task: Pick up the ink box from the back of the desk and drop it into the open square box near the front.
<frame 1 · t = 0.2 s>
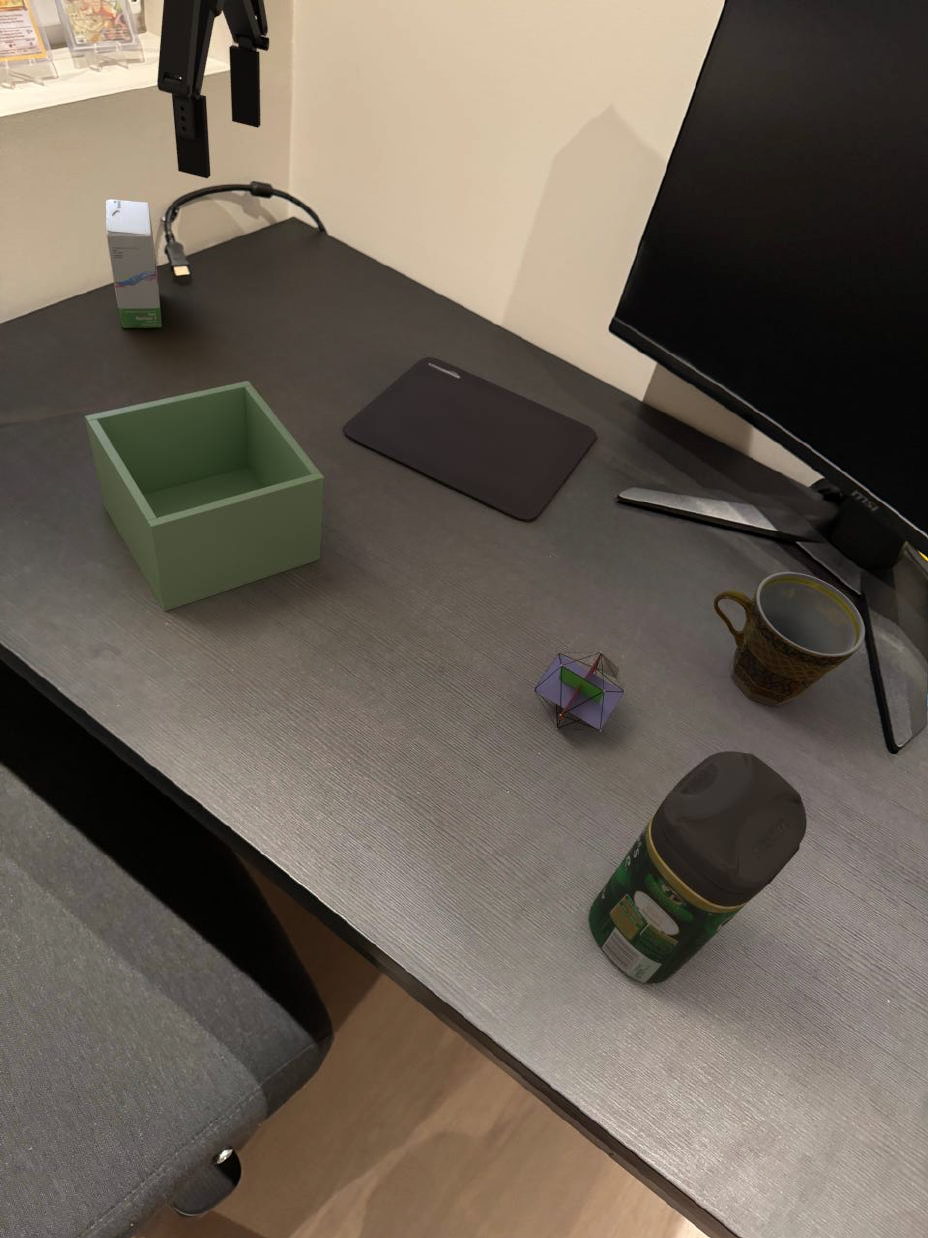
hand: (221, 147, 81), 25 cm above the table, tool pointing down, fingers open, 13 cm apart
ink box: (140, 311, 106), on the table
geometric puzzle: (568, 712, 76), on the table
mouse pad: (474, 433, 100), on the table
coffee jar: (644, 923, 64), on the table
open square box: (211, 531, 83), on the table
ceramic cup: (746, 675, 83), on the table
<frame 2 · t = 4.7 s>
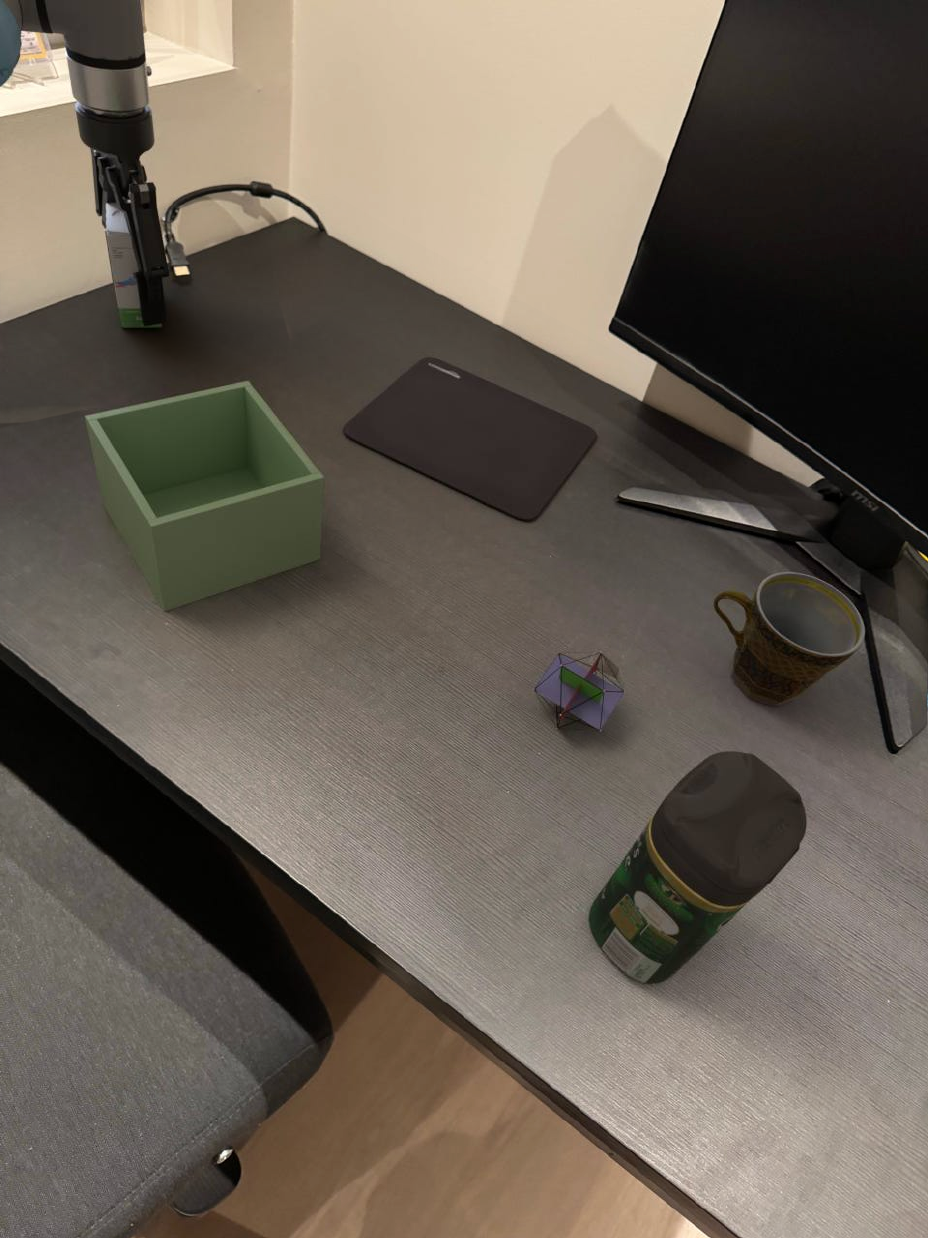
hand: (139, 301, 105), 1 cm above the table, tool pointing down, fingers closed on ink box, 9 cm apart
ink box: (140, 311, 106), on the table, touching gripper
everything else where it was.
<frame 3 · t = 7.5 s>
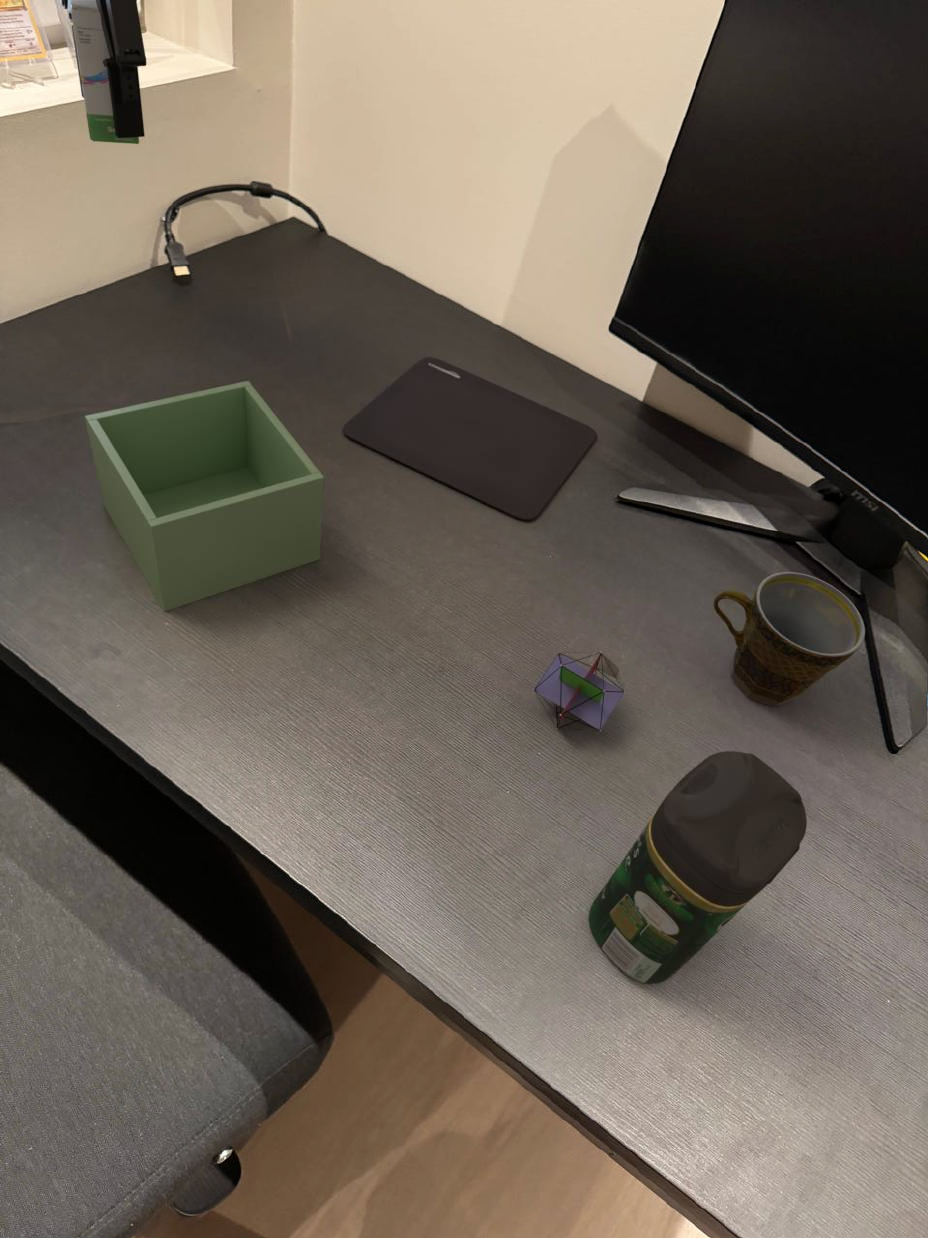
hand: (112, 115, 89), 22 cm above the table, tool pointing down, fingers closed on ink box, 9 cm apart
ink box: (114, 128, 90), point 21 cm above the table, touching gripper
everything else where it was.
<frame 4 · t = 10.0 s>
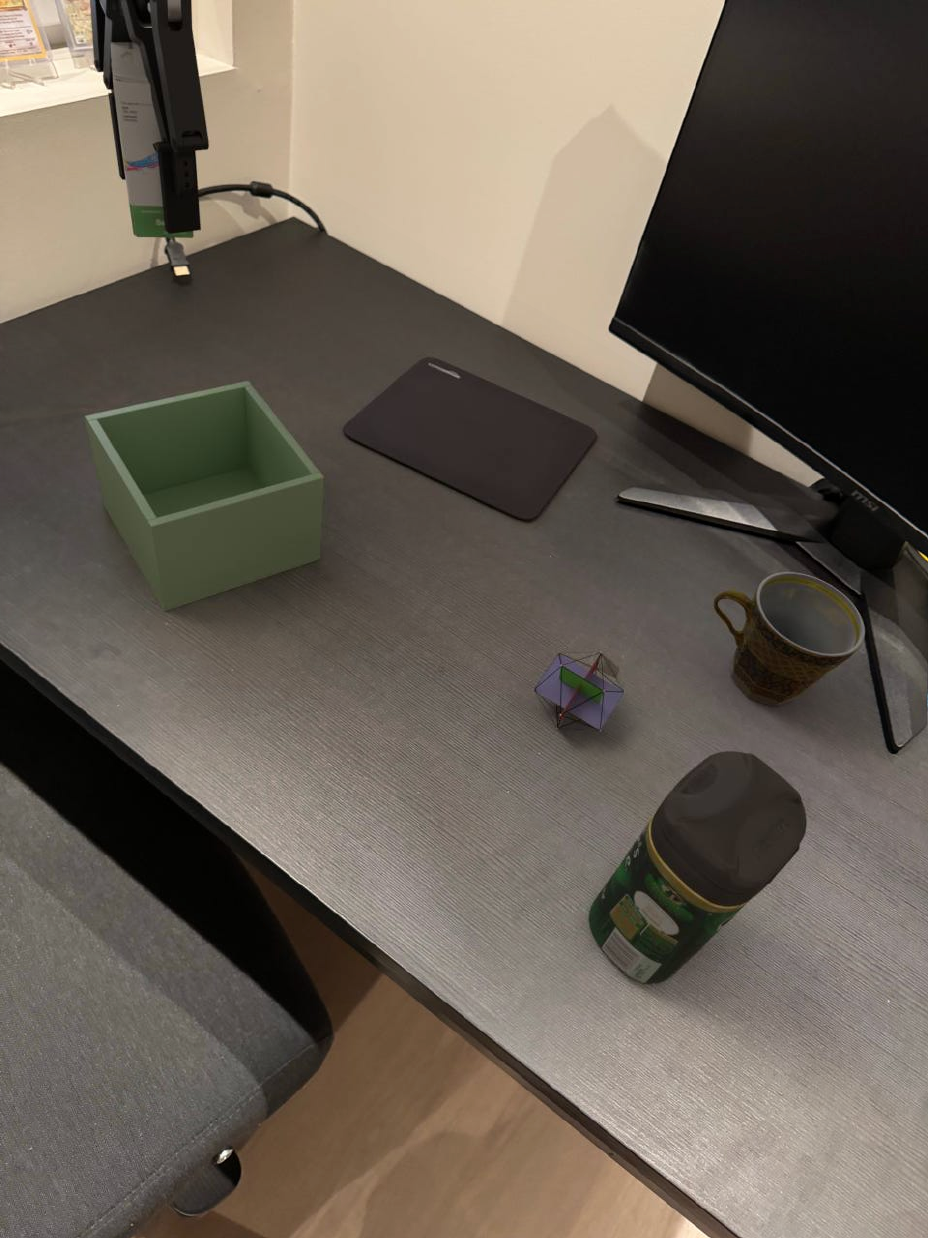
hand: (159, 202, 71), 26 cm above the table, tool pointing down, fingers closed on ink box, 9 cm apart
ink box: (161, 217, 72), point 24 cm above the table, touching gripper
everything else where it was.
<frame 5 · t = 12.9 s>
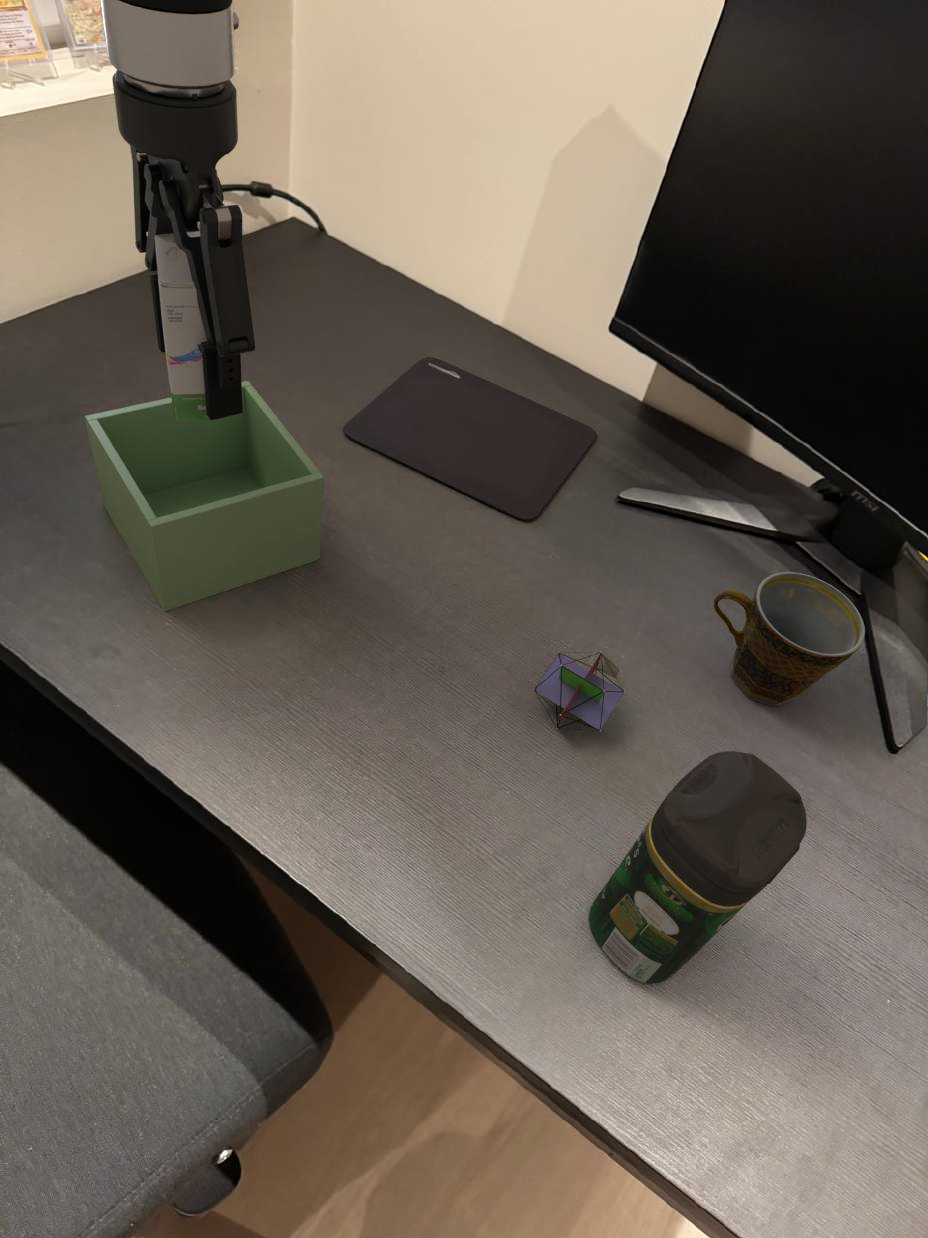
hand: (199, 379, 70), 17 cm above the table, tool pointing down, fingers closed on ink box, 9 cm apart
ink box: (201, 392, 71), point 16 cm above the table, touching gripper
everything else where it was.
when the fingers open (9 cm above the table, at t = 15.6 s): ink box drops 7 cm, resting on open square box.
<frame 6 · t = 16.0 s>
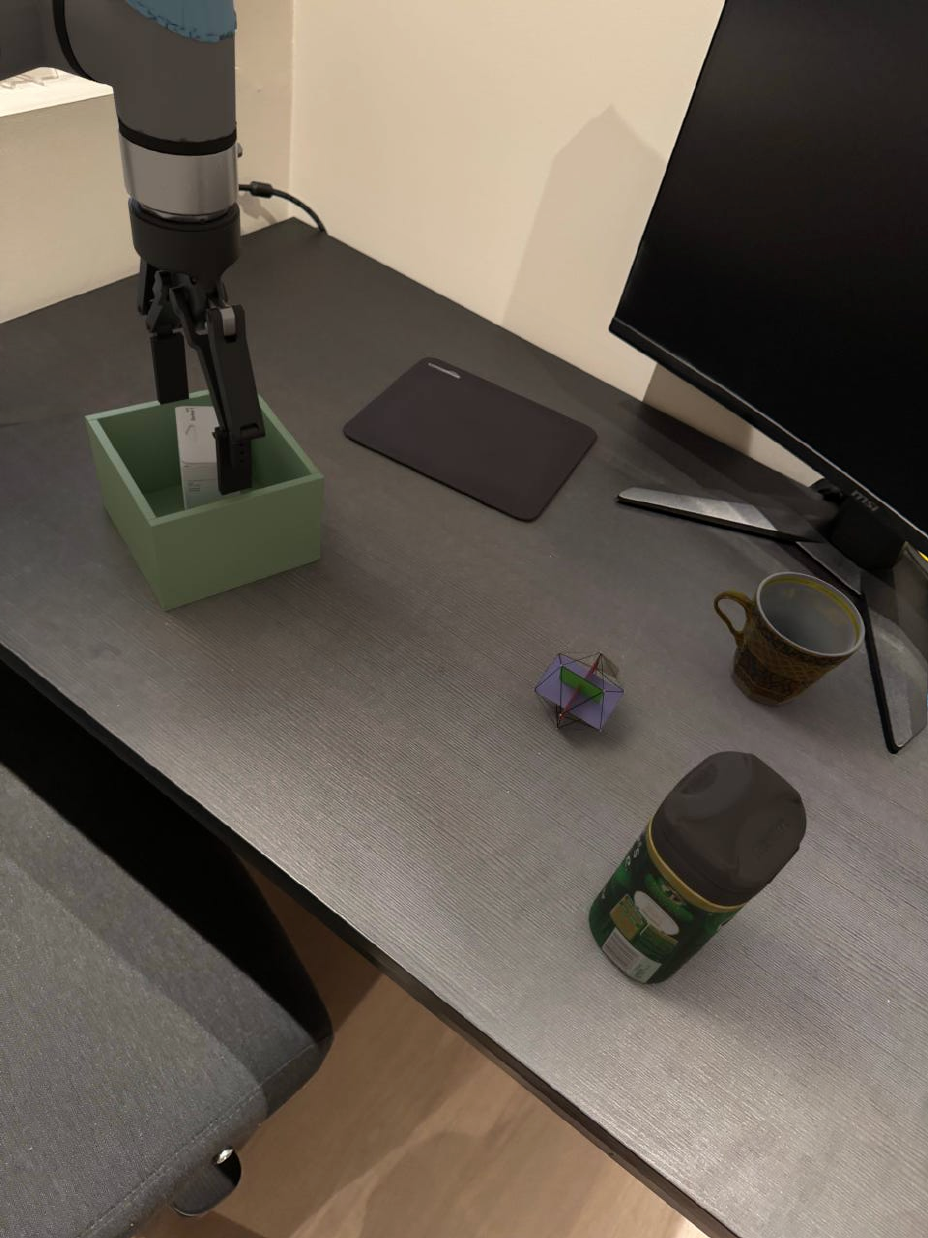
hand: (203, 442, 75), 11 cm above the table, tool pointing down, fingers open, 13 cm apart
ink box: (213, 531, 82), resting on open square box
everything else where it was.
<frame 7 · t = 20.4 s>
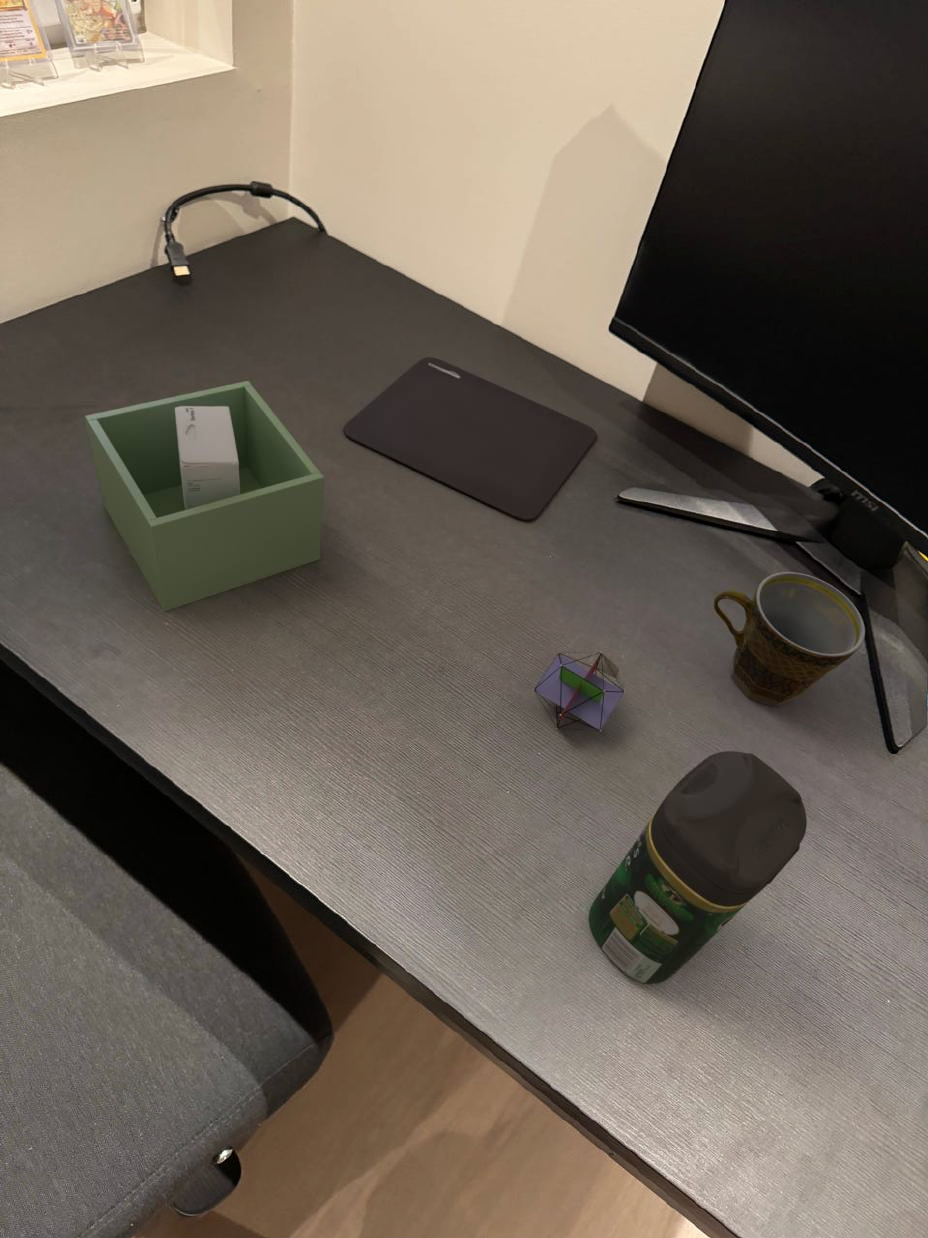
nothing on the table moved.
at the end: ink box inside the target area in the open square box (0.4 cm from its centre), point 0.3 cm above the open square box's base; the gripper is holding nothing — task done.
